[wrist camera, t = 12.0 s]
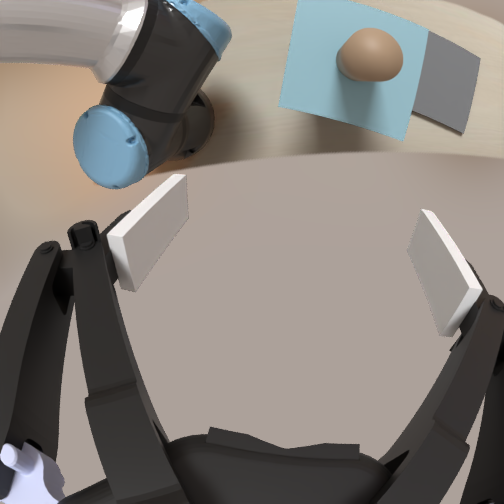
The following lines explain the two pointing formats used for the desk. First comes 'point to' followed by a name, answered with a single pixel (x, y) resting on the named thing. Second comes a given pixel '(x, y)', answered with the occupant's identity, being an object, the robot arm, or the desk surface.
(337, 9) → the lid
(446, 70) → the mat
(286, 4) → the desk surface
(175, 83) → the robot arm
